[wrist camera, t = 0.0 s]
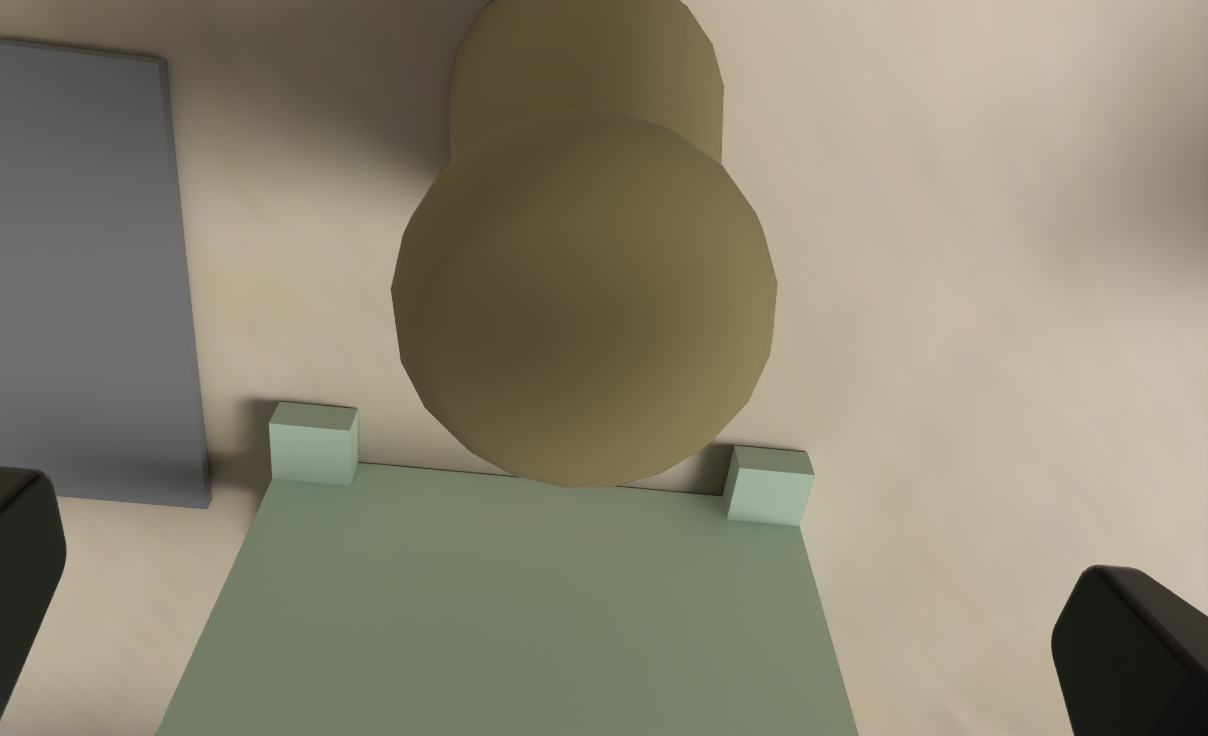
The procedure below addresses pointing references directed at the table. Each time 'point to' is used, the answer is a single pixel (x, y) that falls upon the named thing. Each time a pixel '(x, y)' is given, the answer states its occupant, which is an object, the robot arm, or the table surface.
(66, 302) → the mat
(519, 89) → the olive bulbous piece
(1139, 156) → the table surface
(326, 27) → the table surface
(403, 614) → the screen
